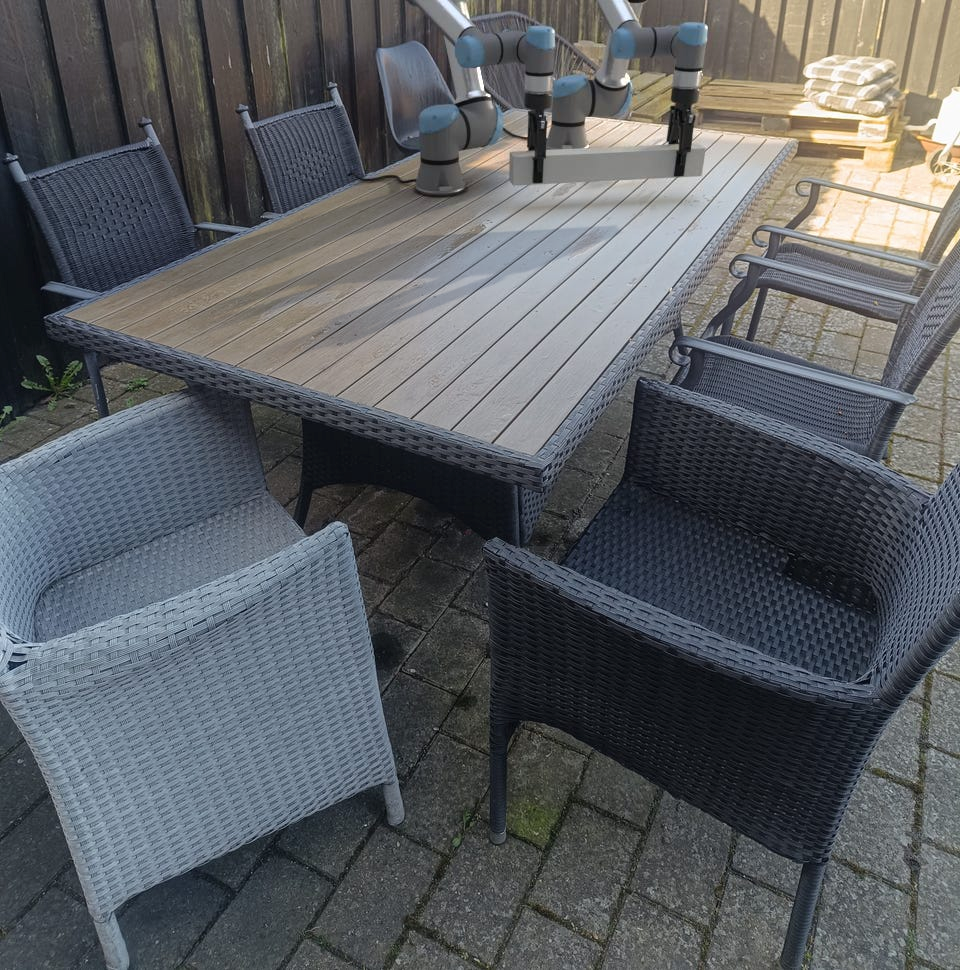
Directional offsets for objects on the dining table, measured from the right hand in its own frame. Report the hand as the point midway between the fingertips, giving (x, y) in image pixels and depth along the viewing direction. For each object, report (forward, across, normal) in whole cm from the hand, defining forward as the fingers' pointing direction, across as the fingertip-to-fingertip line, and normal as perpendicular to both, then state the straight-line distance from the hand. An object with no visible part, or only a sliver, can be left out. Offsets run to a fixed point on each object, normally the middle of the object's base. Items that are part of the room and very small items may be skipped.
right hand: (674, 172), depth 246 cm
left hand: (0, 0, +42) cm, 42 cm away
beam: (+1, 0, +21) cm, 21 cm away
